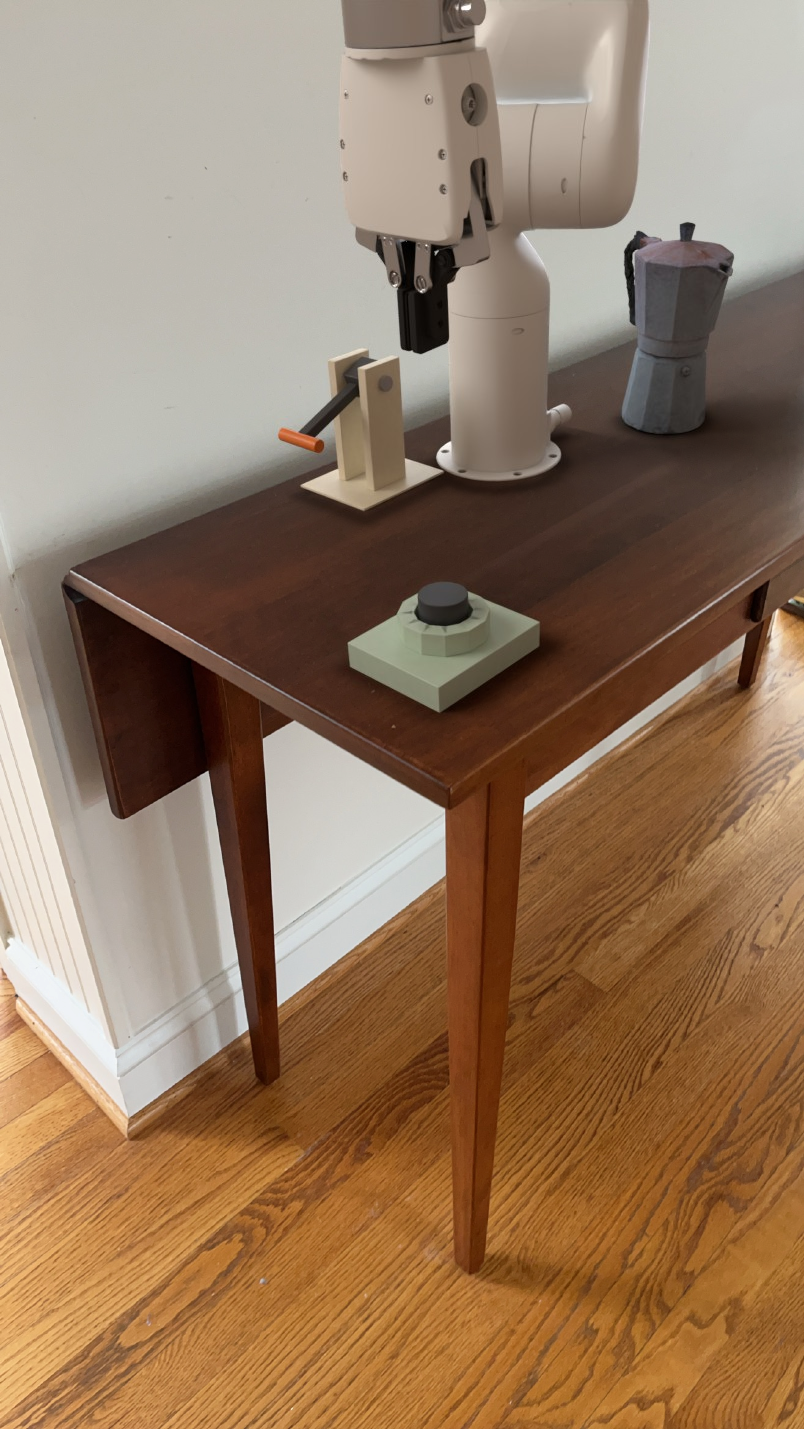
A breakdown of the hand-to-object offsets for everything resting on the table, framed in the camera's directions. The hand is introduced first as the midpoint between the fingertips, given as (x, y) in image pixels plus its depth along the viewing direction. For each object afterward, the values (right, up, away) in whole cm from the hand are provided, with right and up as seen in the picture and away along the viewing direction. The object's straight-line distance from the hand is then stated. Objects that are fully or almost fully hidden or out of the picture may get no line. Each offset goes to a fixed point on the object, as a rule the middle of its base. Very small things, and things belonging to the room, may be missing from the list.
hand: (425, 346), depth 69 cm
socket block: (+2, -21, +7) cm, 22 cm away
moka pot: (+27, +7, +43) cm, 51 cm away
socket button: (+1, -18, +4) cm, 18 cm away
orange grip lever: (-7, +3, +25) cm, 26 cm away
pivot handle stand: (-4, -3, +32) cm, 32 cm away
